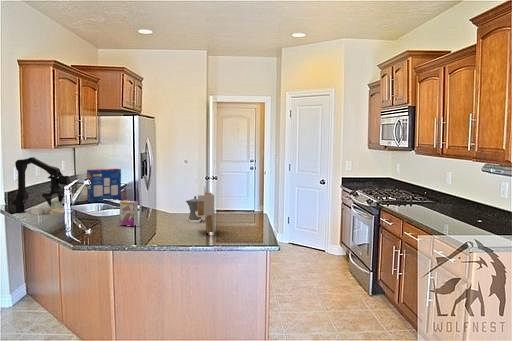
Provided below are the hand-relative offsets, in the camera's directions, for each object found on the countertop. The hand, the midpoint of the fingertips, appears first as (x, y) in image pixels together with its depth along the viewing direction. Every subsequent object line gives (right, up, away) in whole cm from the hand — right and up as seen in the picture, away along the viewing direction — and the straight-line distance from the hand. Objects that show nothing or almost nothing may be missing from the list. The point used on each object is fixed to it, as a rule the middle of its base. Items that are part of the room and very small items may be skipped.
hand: (55, 205), depth 319 cm
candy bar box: (+66, -11, -38) cm, 77 cm away
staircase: (+118, -14, -53) cm, 131 cm away
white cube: (-12, -6, -3) cm, 14 cm away
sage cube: (0, -2, 0) cm, 2 cm away
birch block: (0, -6, +1) cm, 6 cm away
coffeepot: (+108, -10, -18) cm, 110 cm away
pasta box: (+13, -1, +67) cm, 68 cm away
